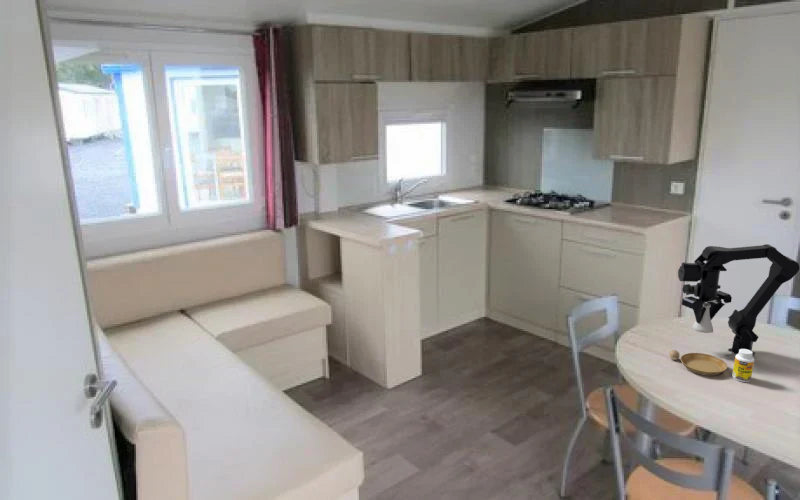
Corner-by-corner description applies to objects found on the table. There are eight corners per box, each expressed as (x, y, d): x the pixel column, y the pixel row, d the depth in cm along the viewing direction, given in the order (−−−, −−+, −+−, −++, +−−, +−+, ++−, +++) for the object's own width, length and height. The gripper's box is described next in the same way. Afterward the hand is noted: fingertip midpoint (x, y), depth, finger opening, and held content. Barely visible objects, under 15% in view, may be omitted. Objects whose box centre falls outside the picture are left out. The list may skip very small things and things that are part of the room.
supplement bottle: (734, 381, 196) (738, 353, 193) (730, 373, 201) (734, 346, 198) (752, 383, 194) (757, 355, 192) (748, 376, 200) (753, 348, 197)
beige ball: (673, 356, 214) (674, 347, 213) (681, 360, 211) (682, 351, 210) (666, 358, 213) (667, 349, 212) (673, 362, 210) (675, 353, 209)
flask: (716, 334, 212) (720, 308, 209) (694, 333, 213) (698, 307, 210) (710, 326, 218) (713, 301, 216) (689, 325, 220) (692, 300, 217)
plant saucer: (709, 382, 196) (710, 375, 195) (670, 365, 208) (671, 358, 208) (735, 371, 203) (736, 365, 202) (696, 355, 215) (697, 349, 215)
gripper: (709, 271, 221) (703, 310, 225) (672, 278, 214) (667, 318, 219) (735, 280, 211) (729, 320, 215) (697, 287, 204) (691, 329, 209)
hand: (703, 321), depth 215 cm, fingers closed on flask, 5 cm apart
